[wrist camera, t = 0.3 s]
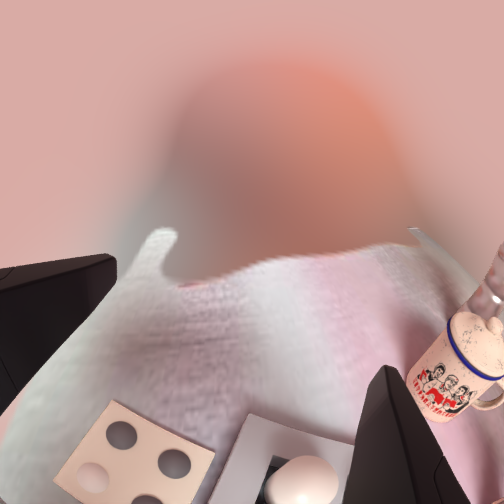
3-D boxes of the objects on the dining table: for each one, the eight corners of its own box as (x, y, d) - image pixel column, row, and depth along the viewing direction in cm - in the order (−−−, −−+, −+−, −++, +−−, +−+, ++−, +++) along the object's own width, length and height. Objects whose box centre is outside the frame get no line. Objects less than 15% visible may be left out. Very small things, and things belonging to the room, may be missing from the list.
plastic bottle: (450, 314, 41) (513, 209, 30) (479, 336, 38) (546, 234, 27) (444, 333, 37) (518, 216, 26) (475, 357, 33) (554, 245, 22)
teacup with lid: (390, 393, 27) (458, 315, 20) (418, 352, 33) (471, 281, 26) (462, 453, 20) (542, 389, 14) (480, 403, 26) (540, 340, 20)
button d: (310, 521, 14) (331, 515, 12) (256, 507, 14) (269, 501, 13) (323, 475, 17) (343, 463, 15) (273, 461, 18) (287, 448, 16)
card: (166, 549, 11) (166, 549, 11) (54, 481, 13) (51, 480, 12) (214, 454, 19) (216, 452, 19) (112, 401, 20) (111, 398, 20)
